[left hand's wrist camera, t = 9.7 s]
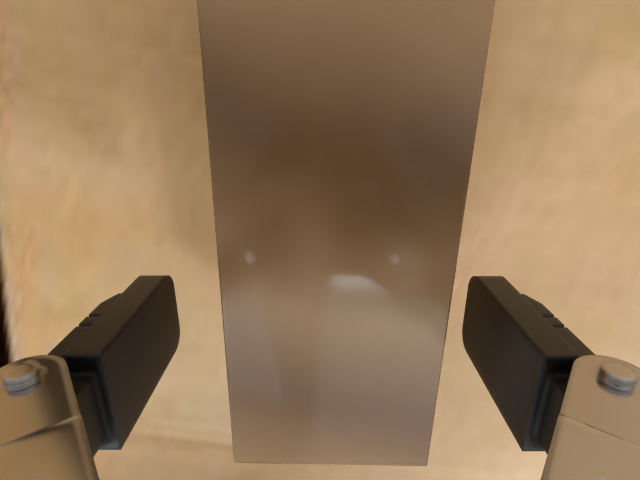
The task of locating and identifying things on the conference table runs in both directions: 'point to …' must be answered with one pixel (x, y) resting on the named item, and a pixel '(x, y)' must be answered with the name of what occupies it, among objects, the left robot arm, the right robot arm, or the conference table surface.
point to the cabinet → (339, 215)
